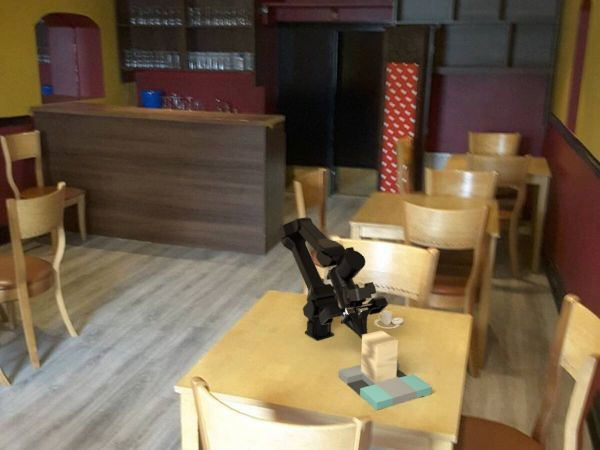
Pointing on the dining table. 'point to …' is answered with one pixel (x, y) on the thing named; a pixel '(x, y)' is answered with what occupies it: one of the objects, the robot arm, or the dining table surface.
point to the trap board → (379, 383)
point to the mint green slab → (383, 400)
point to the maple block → (379, 356)
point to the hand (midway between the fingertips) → (365, 339)
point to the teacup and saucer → (388, 320)
